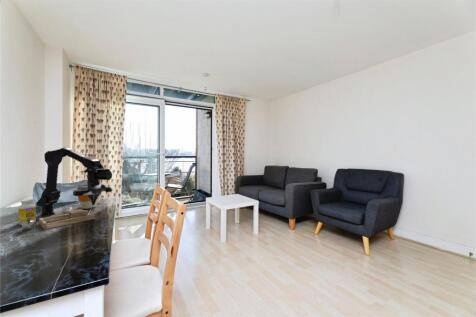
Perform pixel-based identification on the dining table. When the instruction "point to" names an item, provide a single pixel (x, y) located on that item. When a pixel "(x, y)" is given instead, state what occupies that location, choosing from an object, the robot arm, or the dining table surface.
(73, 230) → the dining table surface
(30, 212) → the supplement bottle
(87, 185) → the robot arm
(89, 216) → the bay
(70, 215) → the cardboard box
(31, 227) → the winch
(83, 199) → the reusable coffee cup
